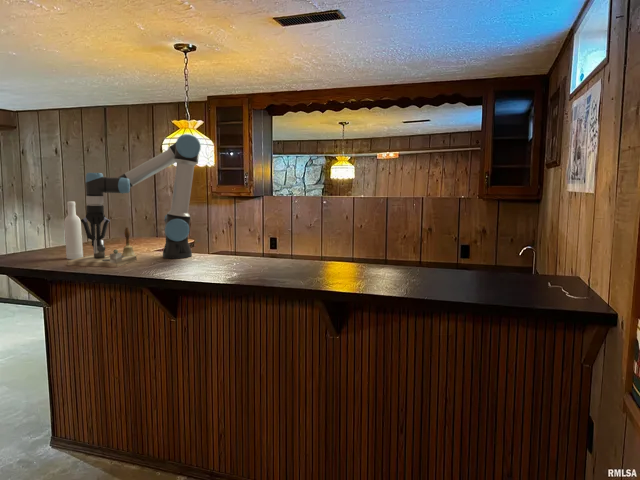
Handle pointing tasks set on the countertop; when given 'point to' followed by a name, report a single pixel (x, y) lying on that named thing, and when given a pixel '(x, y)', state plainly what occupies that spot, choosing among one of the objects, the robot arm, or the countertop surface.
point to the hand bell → (128, 249)
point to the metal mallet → (100, 250)
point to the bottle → (73, 233)
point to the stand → (103, 260)
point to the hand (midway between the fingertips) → (96, 252)
